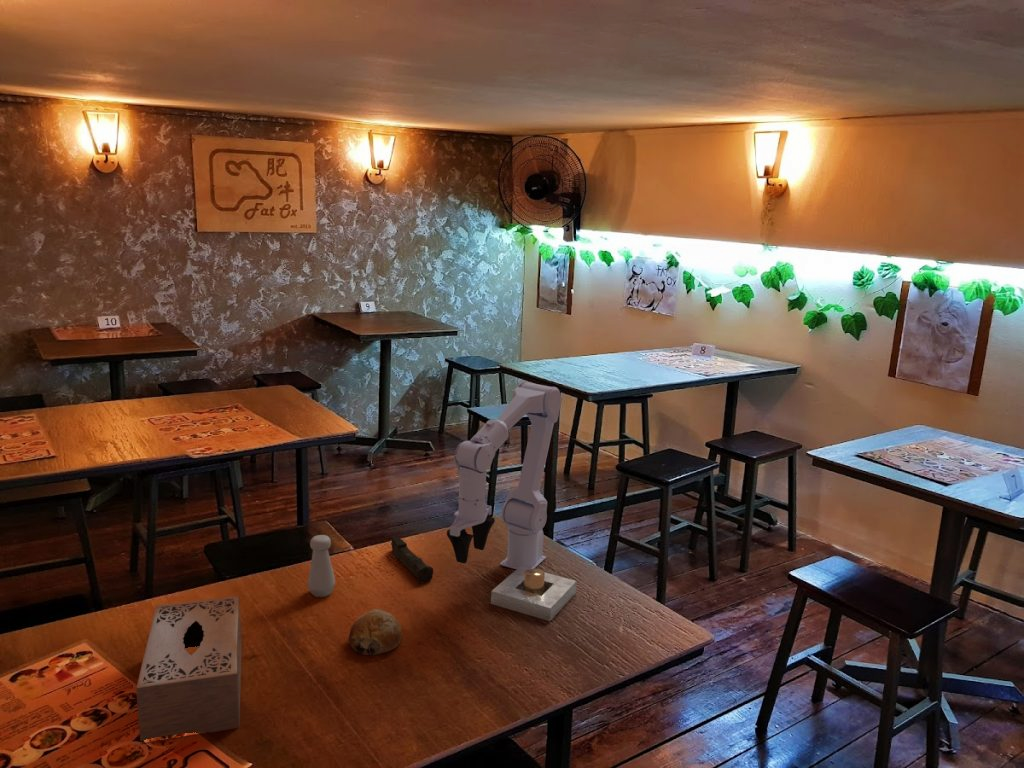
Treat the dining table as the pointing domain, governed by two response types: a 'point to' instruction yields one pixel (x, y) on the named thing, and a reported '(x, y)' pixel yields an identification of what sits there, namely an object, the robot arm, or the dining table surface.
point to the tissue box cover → (191, 669)
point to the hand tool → (411, 560)
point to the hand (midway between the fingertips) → (470, 555)
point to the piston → (534, 581)
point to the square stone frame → (534, 595)
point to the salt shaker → (321, 567)
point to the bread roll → (375, 633)
